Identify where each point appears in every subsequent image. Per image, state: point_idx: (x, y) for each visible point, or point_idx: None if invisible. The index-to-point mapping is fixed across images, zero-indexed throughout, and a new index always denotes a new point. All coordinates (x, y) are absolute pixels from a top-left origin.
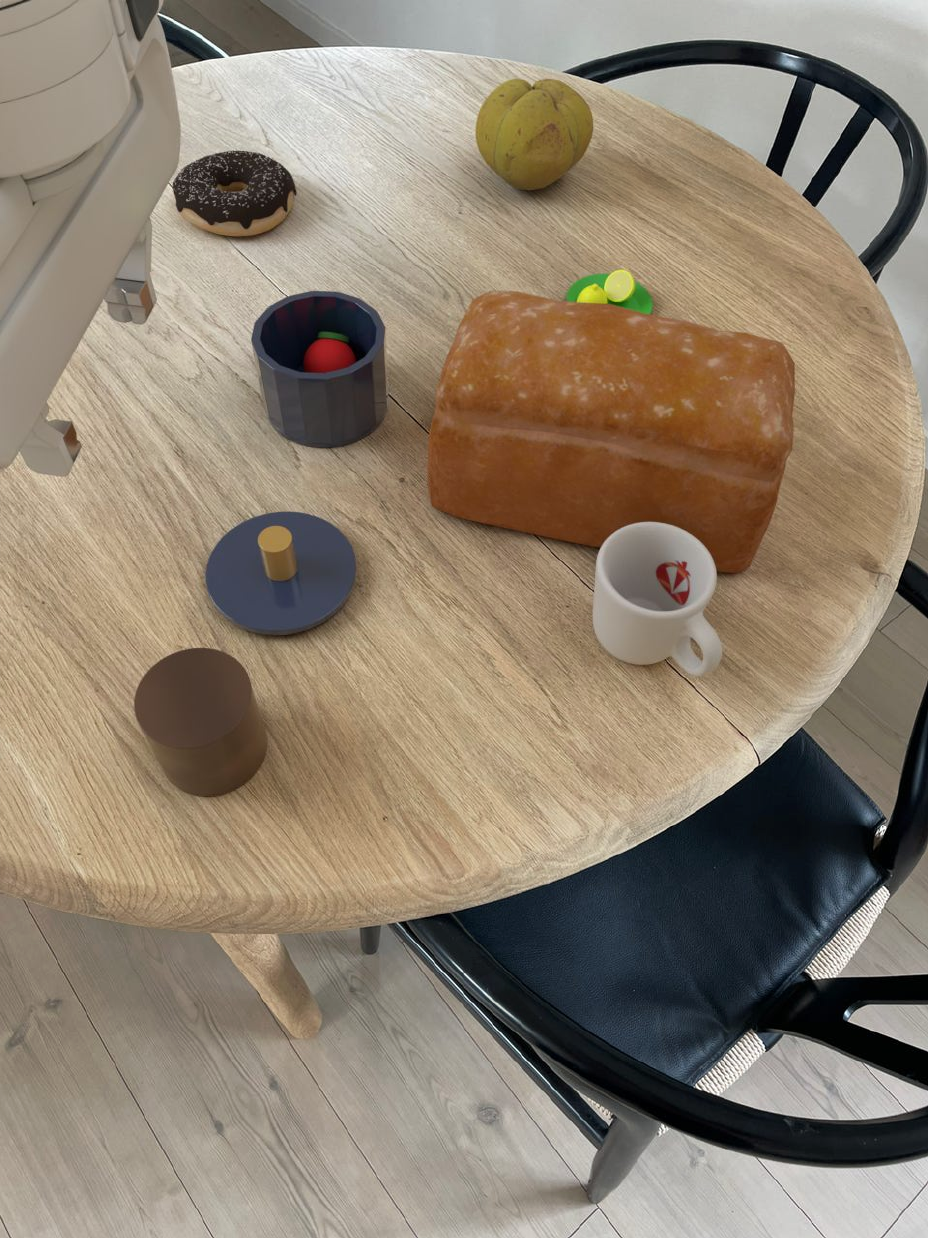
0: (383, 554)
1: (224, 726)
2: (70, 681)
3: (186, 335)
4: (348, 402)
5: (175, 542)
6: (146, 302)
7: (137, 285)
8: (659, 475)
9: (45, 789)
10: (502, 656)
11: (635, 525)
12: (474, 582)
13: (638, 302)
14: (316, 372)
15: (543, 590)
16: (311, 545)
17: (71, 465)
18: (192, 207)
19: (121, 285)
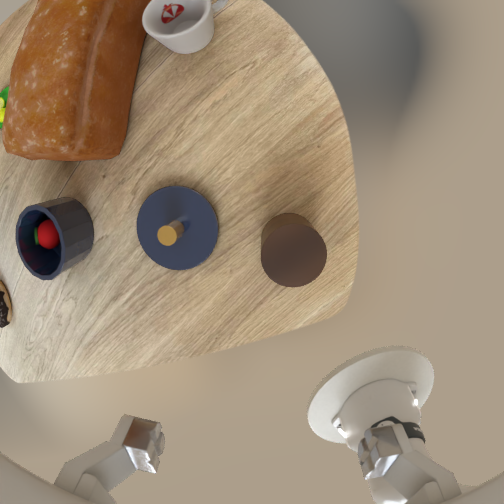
0: (153, 174)
1: (312, 234)
2: (258, 316)
3: (55, 308)
4: (69, 216)
5: (167, 288)
6: (142, 433)
7: (133, 451)
8: (115, 17)
9: (314, 309)
10: (213, 96)
11: (145, 25)
12: (165, 119)
13: (4, 95)
14: (56, 239)
15: (166, 83)
16: (157, 215)
17: (397, 427)
18: (6, 318)
19: (142, 462)
